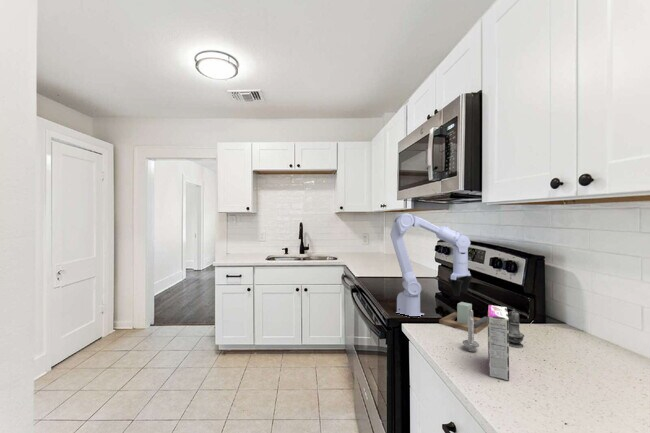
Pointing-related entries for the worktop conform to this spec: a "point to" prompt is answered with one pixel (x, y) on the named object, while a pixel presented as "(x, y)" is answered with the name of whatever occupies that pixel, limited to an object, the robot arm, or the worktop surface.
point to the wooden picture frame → (451, 322)
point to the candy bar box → (498, 342)
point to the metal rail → (480, 322)
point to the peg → (463, 312)
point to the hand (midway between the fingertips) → (460, 294)
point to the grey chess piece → (514, 330)
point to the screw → (470, 334)
